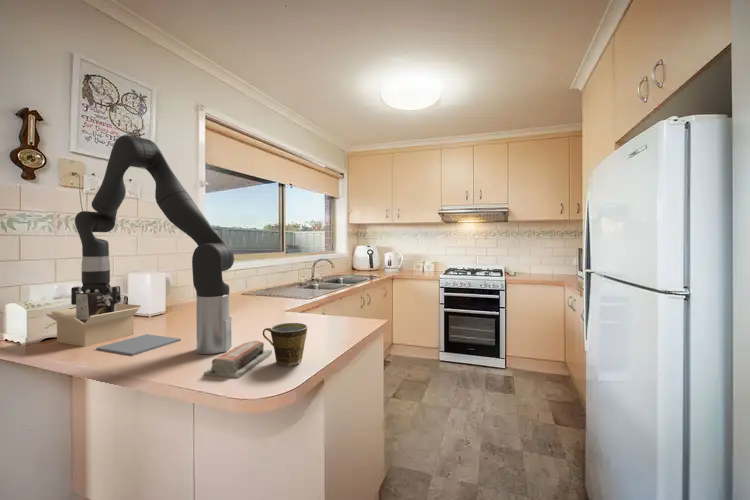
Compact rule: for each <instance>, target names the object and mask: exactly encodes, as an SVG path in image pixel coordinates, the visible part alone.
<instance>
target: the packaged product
mask: <svg viewBox="0 0 750 500" xmlns="http://www.w3.org/2000/svg"><path fill="white" fill-rule="evenodd" d="M264 346H265V345H264V342H263V341H261V340H252V341H248V342H244V343H242V344H239V345H237V346H235V347H234V348H232V349H230V350H227V351H226V352H223V353H222V354H221V355H218V356H216V357H215V358H213V359H212V360H211V364H212V365H211V368H209V369H208V370H206V371H204V372H203V376H207V377H222V378H224V377H225V378H236V379H237V378H238V379H239V378H241V377H243V376H244V375H245V374H247V373H248V372H250V371H251V370H253V369H254V368H255V367H257V366H258V365H259V363H260V364H261V363H263V361H265V360H266V359H267V358H269V357H270V356H271V355H273V350H272V349H264ZM256 365H257V366H256ZM252 368H253V369H252Z"/></svg>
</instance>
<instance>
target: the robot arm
mask: <svg viewBox="0 0 750 500" xmlns="http://www.w3.org/2000/svg"><path fill="white" fill-rule="evenodd" d="M130 167H132V168H144V169H146V171H147V173H149V174H150V175H151V177H152V178H153V180H154V182H155V193H154V195H155V196H154V197H155V202H156V203H157V206H158V207H159V209H160V210H161V212H162V213H163V214H164V216H165V217H166V218H167V220H168V221H169V222H170V223H171V224H173V225H174V226H175V227H176V228H178V229H179V230H180V231H182V232H183V233H184V234H185V235H187V236H188V237H189V238H191V239H192V240H193V242H195V244H196V245H197V247H196V248H195V249H194V250H193V254H192V258H191V263H192V264H191V267H192V269H191V271H192V283H193V287H194V289H195V291H196V295H195V296H196V298H195V299H196V303H195V305H196V307H195V308H196V310H195V311H196V353H198V354H202V355H213V354H218V353H226V352H228V351H229V349H230V348H231V347H232V317H231V316H230V286H229V284H227V283H226V282H225V281H224V280H223V272H226V271H228V270H230V269H231V268H232V267H233V265H234V263H235V256H234V252H233V250H232V249H231V247H230V246H229V245H228V244H227V243H226V242H225V240H224V239H223V238H222V237H221V236H220V235H219V233H217V232H216V230H215V229H214V227H212V225H211V224H210V222H209V221H208V219H207V218H206V217H205V215H204V214H203V213H202V211H201V210H200V208H199V207H198V206H197V204H196V203H195V201H194V199H192V196H191V195H190V194H189V193H188V191H187V190H186V189H185V188H184V186H183V184H181V182H180V180H179V179H178V177H177V176H176V175H175V173H174V171H173V170H172V169H171V167H170V165H169V163H168V162H167V160H166V158H165V156H164V154H163V153H162V151H161V149H160V148H159V147H158V145H157V144H156V143H155V142H154V141H153V140H151V139H148V138H145V137H137V136H132V135H121V136H119V137H117V139H116V140H115V142H114V143H113V146H112V149H111V151H110V155H109V158H108V161H107V166H106V169H105V173H104V177H103V179H102V182H101V184H100V187H99V188H98V190H97V192H96V194H95V195H94V198H93V199H92V201H91V208H92V209H93V210H94V211H90V210H89V211H88V210H87V211H86V210H84V211H83V210H82V211H79V212H78V213H77V214H76V215H75V218H74V224H75V228H76V231H77V233H78V235H79V239H80V243H81V249H82V252H81V253H82V255H81V256H82V260H81V267H80V269H81V283H82V285H81V286H73V287H71V296H70V297H71V298H70V299H71V300H70V303H71V305H72V306H73V305H74V306H76V294H78V293H91V292H95V293H101V292H103V293H104V294H106V293H107V292H109V291H110V290H111V292H112V297H105V296H104V295H103V294H102V297H103V298H102V301H104V302H105V303H106V304H107V305H108V306H107V313H110V312H114V305H115V304H116V303H119V304H120V303H121V299H122V298H121V286H120V285H115V286H111V284H110V282H111V263H110V262H111V261H110V252H109V251H110V248H109V247H110V246H109V245H110V244H109V242H108V240H106V239H103V238H98V237H96V236H95V235H94V233H109V232H110V231H111V232H112V230H114V228H115V226H116V219H117V214H118V209H119V208H120V206H121V205H122V203H123V201H124V200H125V197H126V193H127V192H126V184H125V182H124V176H125V174H126V172H127V170H128V169H129V168H130ZM109 300H110V301H109Z"/></svg>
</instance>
